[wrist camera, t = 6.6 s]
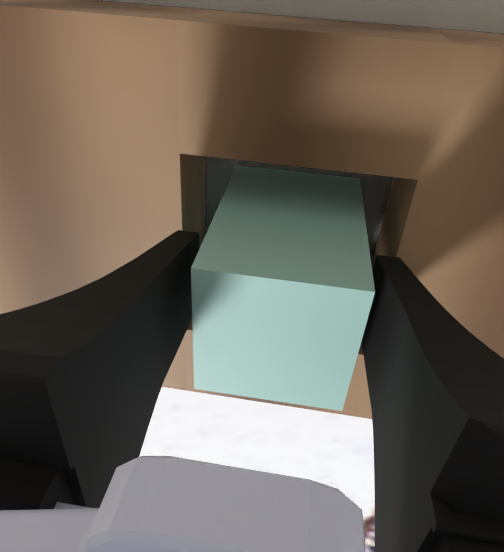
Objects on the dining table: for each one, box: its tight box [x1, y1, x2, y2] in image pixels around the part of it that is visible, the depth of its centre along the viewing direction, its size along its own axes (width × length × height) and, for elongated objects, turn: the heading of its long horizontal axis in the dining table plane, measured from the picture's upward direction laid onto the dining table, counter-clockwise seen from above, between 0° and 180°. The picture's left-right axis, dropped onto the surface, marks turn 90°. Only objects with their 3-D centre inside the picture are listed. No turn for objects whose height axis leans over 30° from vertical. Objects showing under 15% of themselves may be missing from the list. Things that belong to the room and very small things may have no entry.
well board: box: [0, 0, 504, 419], centre depth 14 cm, size 22×12×3 cm, turn 86°
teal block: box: [191, 165, 375, 411], centre depth 13 cm, size 4×4×6 cm
